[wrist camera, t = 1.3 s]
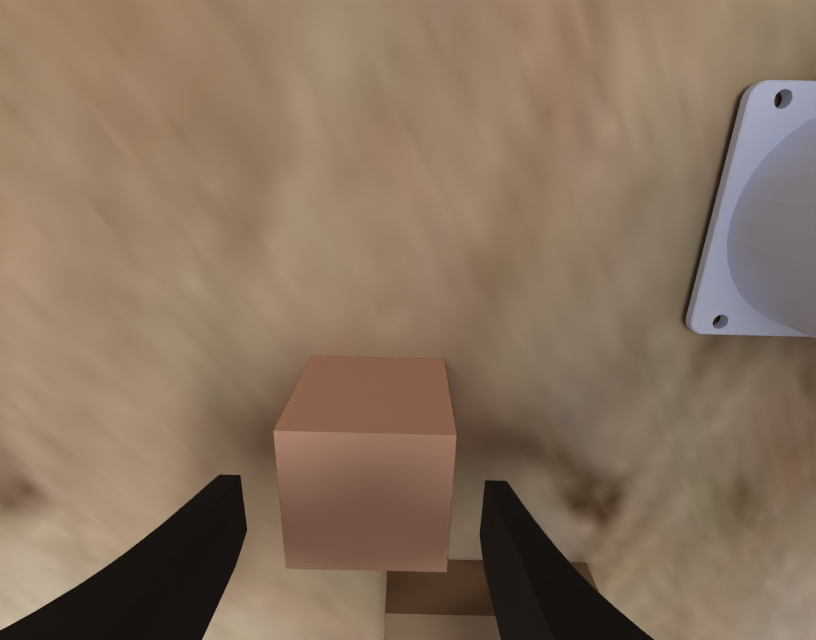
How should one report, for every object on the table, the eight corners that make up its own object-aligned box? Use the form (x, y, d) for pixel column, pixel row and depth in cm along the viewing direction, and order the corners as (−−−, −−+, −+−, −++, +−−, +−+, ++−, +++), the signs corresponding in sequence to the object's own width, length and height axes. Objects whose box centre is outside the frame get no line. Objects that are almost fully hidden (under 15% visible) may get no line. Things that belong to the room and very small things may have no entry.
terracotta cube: (444, 358, 17) (456, 435, 12) (437, 467, 18) (446, 571, 14) (312, 355, 17) (273, 430, 12) (318, 464, 18) (285, 568, 14)
